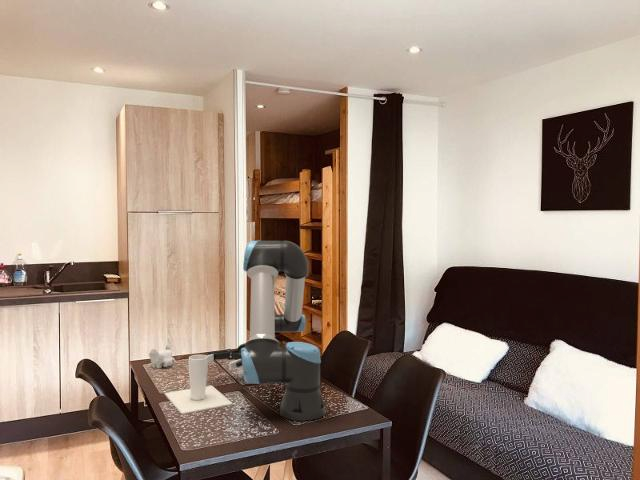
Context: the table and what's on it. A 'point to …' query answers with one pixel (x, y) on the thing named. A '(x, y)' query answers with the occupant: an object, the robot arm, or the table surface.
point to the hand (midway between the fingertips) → (215, 364)
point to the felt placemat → (189, 405)
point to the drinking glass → (198, 376)
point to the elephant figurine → (161, 357)
